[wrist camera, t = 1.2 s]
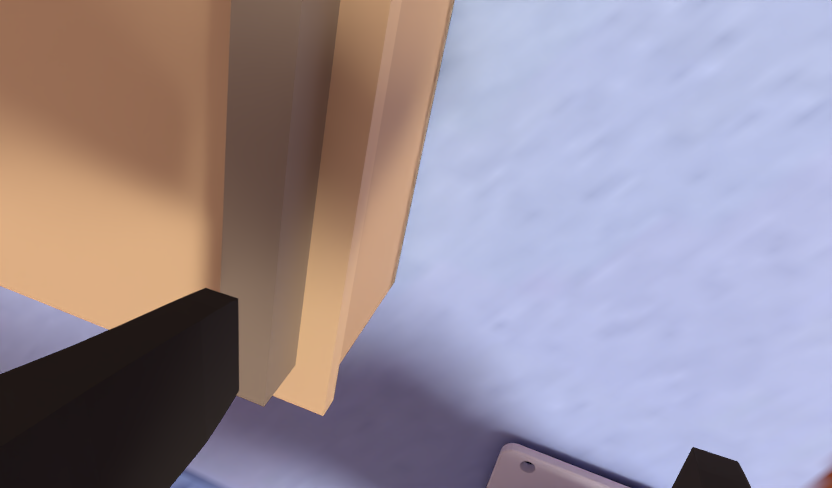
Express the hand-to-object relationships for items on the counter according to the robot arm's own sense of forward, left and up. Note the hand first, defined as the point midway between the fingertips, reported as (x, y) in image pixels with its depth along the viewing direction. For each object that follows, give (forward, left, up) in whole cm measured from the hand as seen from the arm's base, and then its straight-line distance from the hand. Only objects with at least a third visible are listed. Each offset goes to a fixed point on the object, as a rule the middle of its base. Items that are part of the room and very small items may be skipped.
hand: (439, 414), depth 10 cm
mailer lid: (+9, -1, -4) cm, 10 cm away
